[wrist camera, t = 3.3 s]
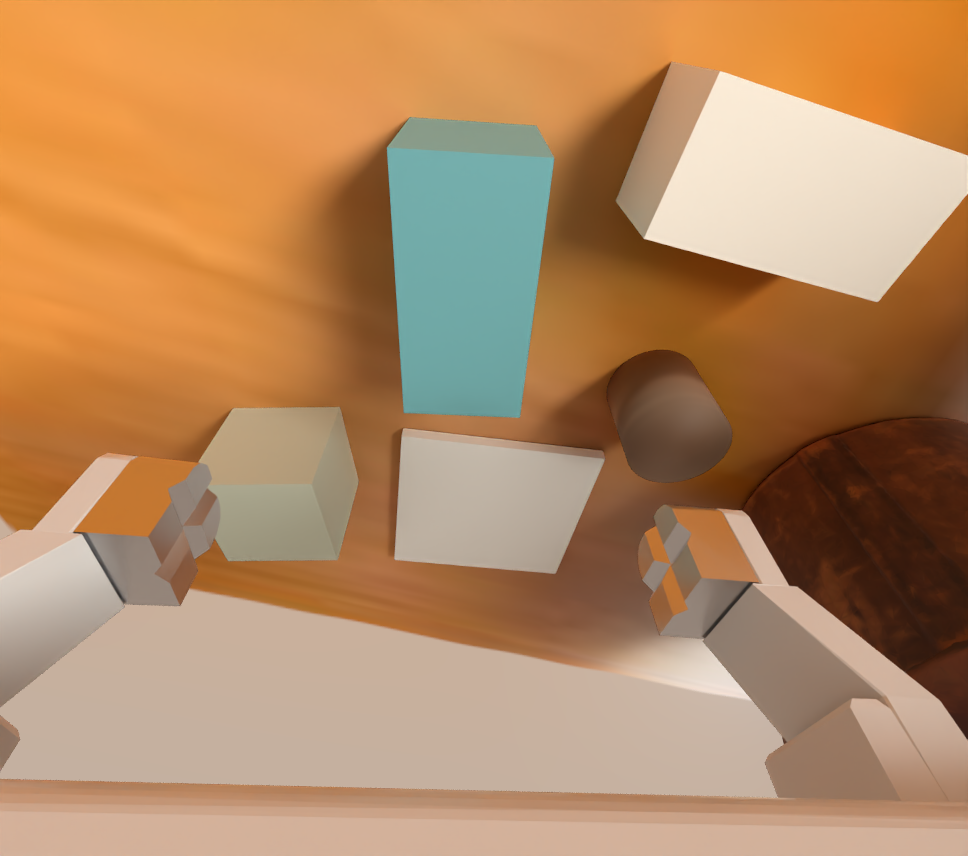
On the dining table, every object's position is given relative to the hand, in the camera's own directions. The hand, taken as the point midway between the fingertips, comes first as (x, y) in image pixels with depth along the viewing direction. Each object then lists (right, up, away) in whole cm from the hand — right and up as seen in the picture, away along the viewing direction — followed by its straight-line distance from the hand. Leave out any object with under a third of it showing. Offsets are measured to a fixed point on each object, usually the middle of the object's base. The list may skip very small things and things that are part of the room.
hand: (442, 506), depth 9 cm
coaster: (+1, -3, +18) cm, 18 cm away
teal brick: (0, +8, +9) cm, 12 cm away
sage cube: (-6, -1, +13) cm, 15 cm away
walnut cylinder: (+8, +3, +13) cm, 16 cm away
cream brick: (+10, +10, +7) cm, 16 cm away
